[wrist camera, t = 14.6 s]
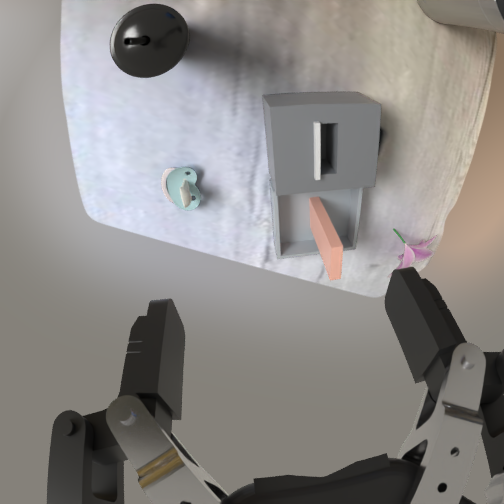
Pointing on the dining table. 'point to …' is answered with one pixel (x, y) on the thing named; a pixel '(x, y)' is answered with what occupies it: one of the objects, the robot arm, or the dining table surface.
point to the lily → (414, 253)
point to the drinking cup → (149, 40)
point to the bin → (298, 220)
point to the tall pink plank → (326, 238)
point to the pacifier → (181, 187)
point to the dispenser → (321, 141)
